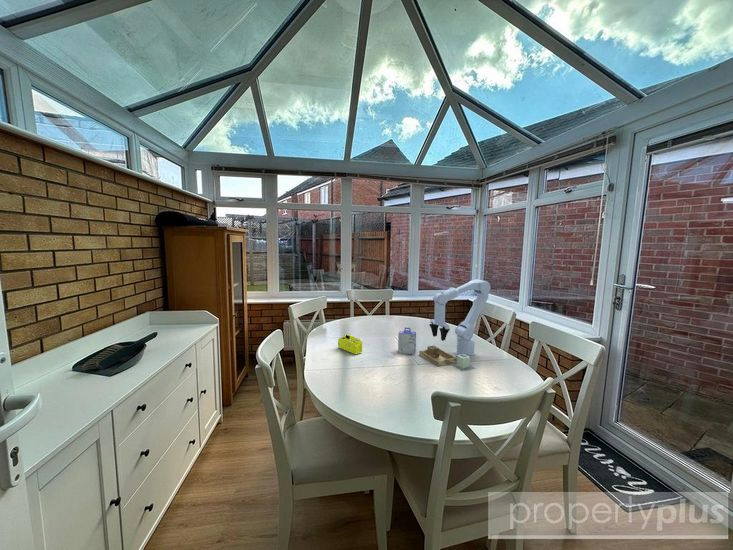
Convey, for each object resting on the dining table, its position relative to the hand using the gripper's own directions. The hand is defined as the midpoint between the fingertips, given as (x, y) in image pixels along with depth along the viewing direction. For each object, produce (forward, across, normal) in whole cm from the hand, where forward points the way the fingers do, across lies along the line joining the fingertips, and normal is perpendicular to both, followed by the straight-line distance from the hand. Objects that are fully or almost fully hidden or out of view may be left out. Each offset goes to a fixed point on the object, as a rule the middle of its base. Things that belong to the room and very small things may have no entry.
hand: (438, 338), depth 168 cm
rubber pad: (+10, +18, +2) cm, 21 cm away
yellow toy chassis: (+11, -27, -43) cm, 52 cm away
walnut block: (+10, 0, -4) cm, 10 cm away
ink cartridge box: (+10, -11, -14) cm, 21 cm away
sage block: (+10, +18, +2) cm, 20 cm away
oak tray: (+10, +4, -4) cm, 12 cm away
